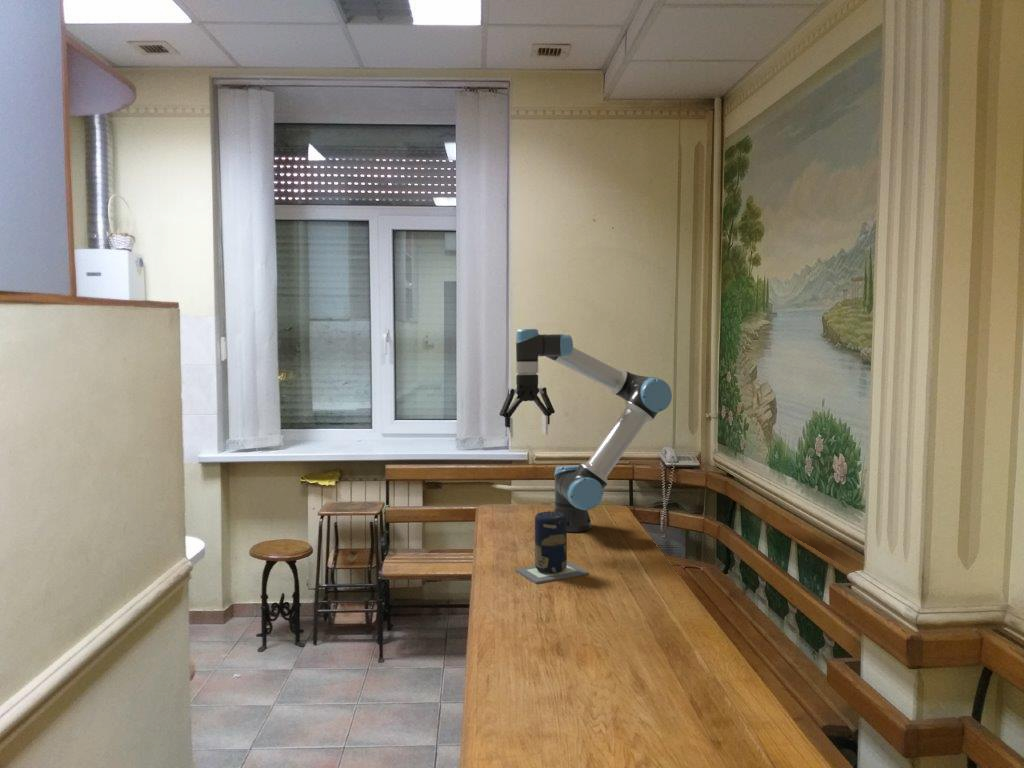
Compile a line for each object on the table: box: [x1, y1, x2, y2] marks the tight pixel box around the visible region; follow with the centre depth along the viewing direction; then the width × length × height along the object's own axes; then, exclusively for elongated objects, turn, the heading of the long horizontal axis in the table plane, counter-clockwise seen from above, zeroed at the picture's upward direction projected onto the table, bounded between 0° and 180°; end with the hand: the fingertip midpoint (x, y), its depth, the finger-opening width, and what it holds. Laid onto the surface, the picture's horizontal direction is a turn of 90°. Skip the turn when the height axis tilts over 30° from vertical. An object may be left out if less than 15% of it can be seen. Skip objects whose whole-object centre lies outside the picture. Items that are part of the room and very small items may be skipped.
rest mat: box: [514, 560, 590, 585], centre depth 217 cm, size 18×13×1 cm
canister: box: [534, 510, 568, 573], centre depth 216 cm, size 10×10×18 cm
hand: (527, 435), depth 249 cm, fingers open, 13 cm apart
